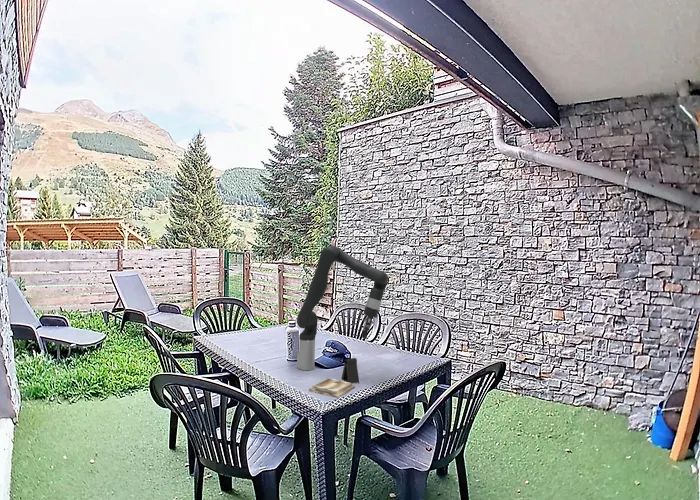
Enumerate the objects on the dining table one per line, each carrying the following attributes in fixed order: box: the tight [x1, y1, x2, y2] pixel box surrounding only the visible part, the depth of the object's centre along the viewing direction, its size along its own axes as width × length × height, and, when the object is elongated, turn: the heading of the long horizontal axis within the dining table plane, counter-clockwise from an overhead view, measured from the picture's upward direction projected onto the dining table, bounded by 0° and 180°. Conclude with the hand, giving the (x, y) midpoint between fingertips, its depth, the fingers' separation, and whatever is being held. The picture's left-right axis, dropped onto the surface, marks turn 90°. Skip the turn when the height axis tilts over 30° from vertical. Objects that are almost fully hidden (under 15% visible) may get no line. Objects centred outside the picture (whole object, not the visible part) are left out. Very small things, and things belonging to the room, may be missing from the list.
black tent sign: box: [340, 357, 360, 384], centre depth 244 cm, size 9×6×12 cm, turn 30°
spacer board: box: [308, 377, 356, 399], centre depth 230 cm, size 17×17×2 cm
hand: (363, 336), depth 240 cm, fingers open, 8 cm apart
